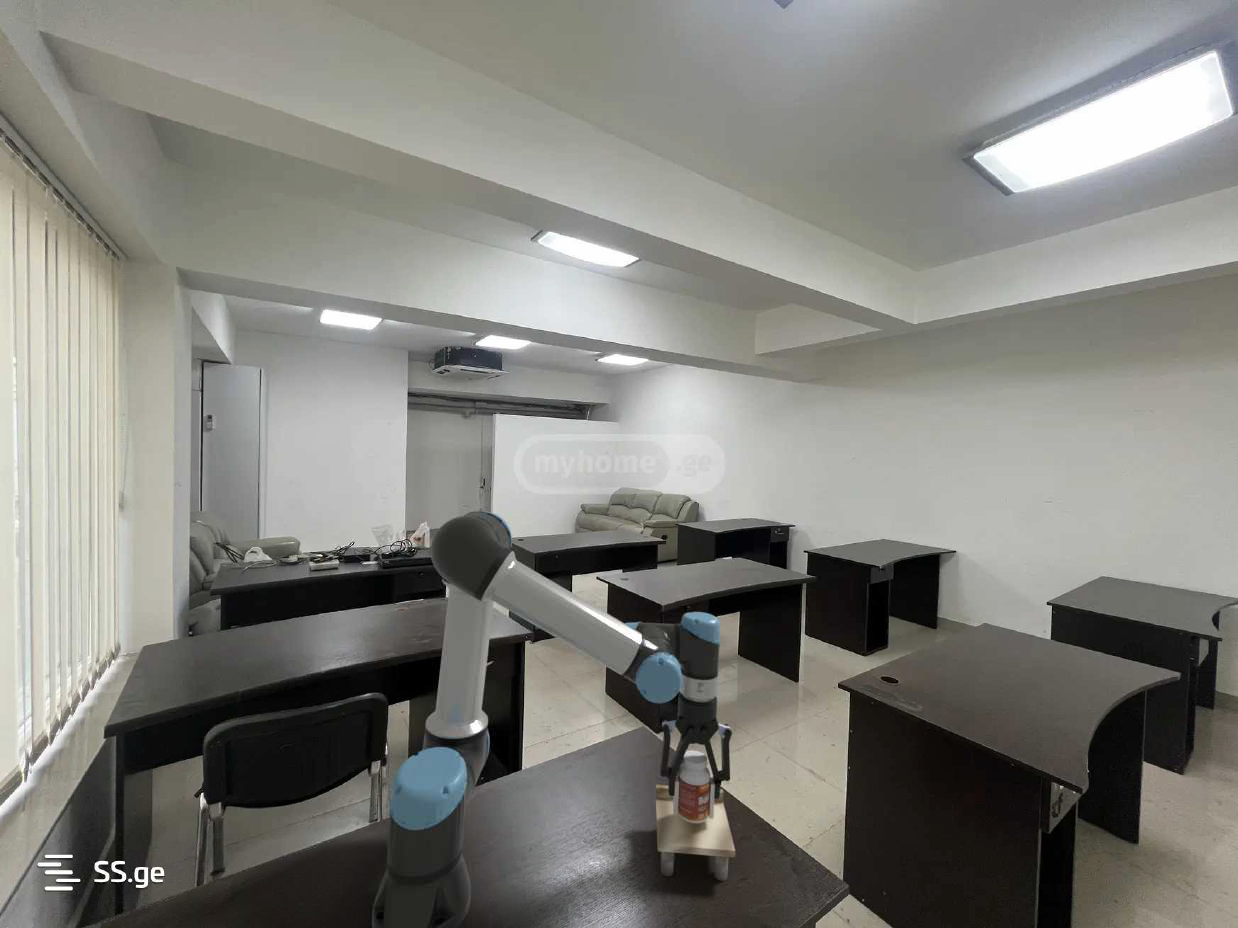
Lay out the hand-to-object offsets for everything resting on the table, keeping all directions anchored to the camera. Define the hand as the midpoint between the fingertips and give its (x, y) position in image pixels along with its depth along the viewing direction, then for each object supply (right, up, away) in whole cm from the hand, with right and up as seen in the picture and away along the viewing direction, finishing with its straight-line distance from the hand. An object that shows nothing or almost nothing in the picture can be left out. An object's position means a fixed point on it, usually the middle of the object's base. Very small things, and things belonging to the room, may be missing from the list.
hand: (692, 811), depth 96 cm
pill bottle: (0, -1, 0) cm, 1 cm away
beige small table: (0, -8, 0) cm, 8 cm away
